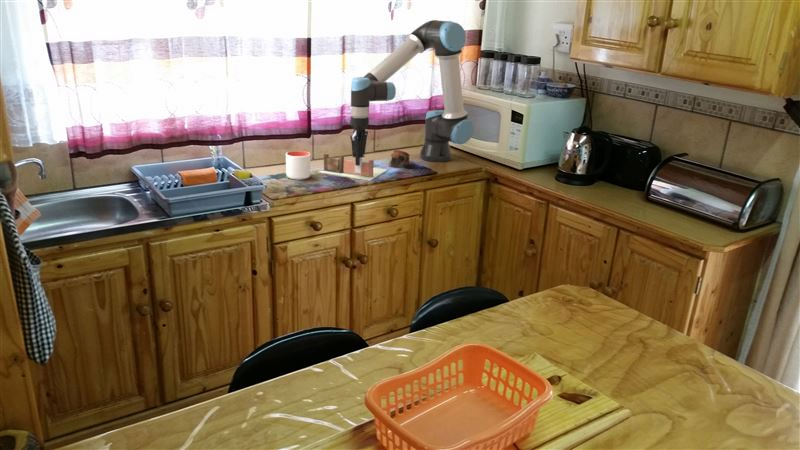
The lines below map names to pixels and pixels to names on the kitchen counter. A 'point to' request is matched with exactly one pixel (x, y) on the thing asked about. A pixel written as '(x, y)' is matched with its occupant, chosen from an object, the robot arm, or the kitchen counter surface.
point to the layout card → (351, 175)
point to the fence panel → (366, 167)
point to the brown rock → (399, 159)
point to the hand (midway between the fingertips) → (358, 172)
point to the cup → (298, 165)
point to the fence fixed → (333, 163)
